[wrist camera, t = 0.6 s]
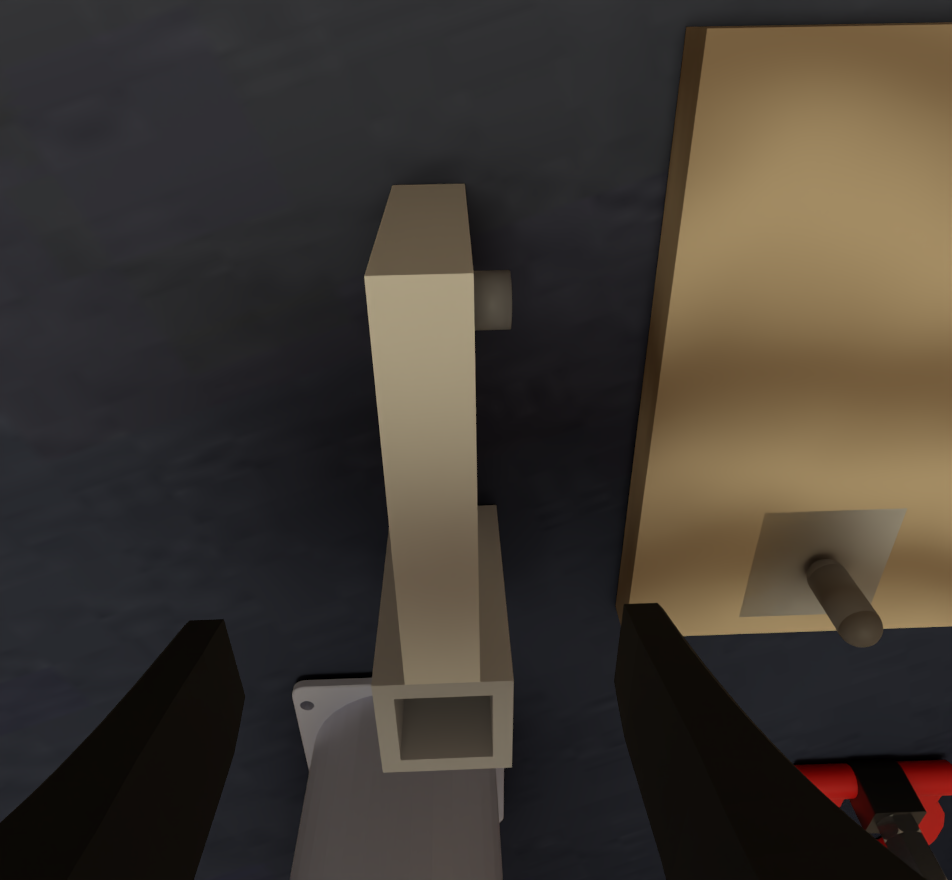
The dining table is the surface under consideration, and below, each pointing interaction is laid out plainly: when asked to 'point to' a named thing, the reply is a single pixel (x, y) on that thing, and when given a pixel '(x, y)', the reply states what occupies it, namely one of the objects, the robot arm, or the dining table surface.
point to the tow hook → (892, 802)
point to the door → (436, 493)
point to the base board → (801, 339)
